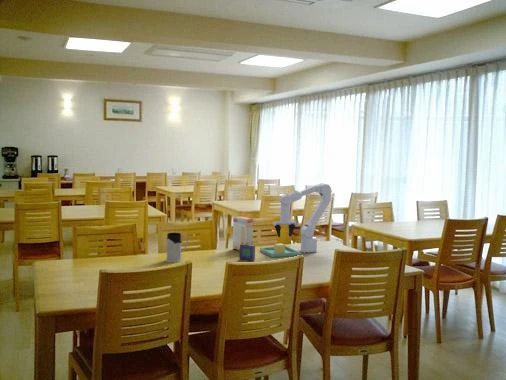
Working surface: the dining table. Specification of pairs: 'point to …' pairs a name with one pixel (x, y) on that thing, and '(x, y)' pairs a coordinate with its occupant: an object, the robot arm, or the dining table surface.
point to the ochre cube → (279, 248)
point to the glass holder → (174, 247)
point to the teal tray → (272, 254)
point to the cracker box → (242, 231)
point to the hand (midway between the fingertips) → (284, 236)
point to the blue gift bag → (247, 252)
